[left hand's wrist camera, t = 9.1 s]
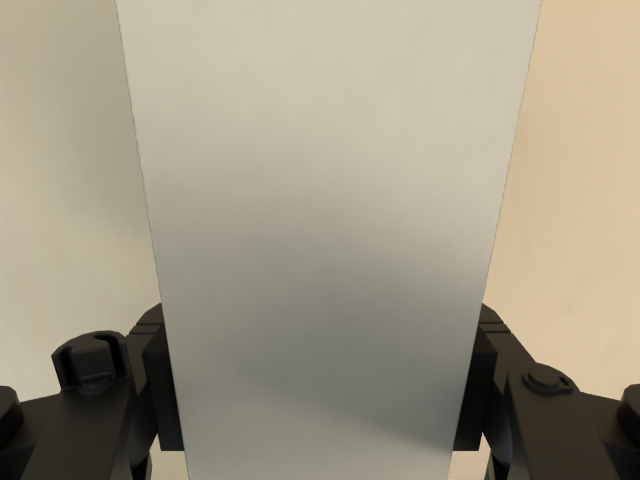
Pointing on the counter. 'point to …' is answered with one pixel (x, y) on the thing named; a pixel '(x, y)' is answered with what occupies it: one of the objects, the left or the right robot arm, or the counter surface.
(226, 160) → the bar
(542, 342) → the counter surface
